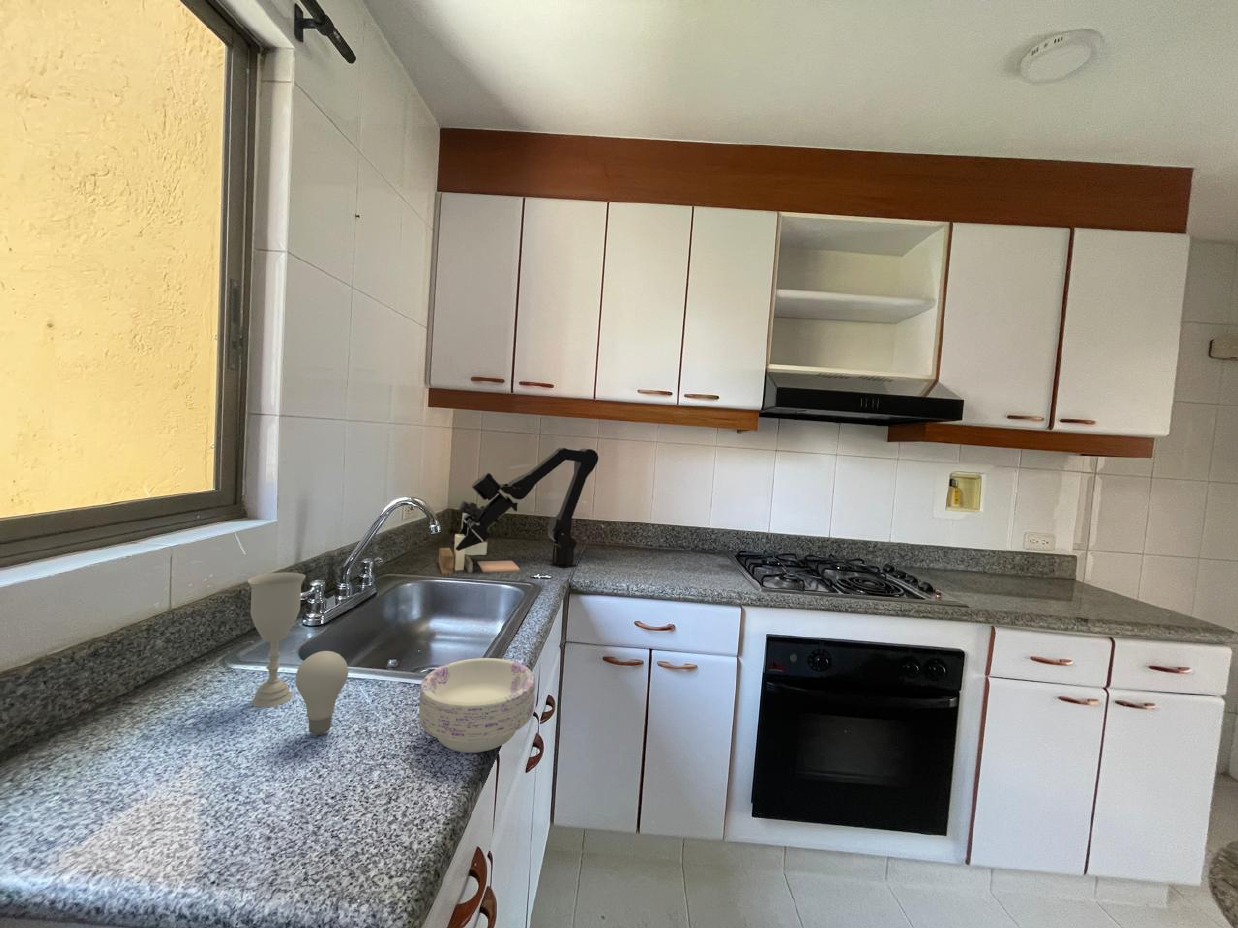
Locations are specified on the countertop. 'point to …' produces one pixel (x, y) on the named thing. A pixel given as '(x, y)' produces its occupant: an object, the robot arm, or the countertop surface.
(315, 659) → the lightbulb
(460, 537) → the cream rectangular block
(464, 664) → the paper bowls
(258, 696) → the chalice
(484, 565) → the terracotta pad
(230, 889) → the countertop surface
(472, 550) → the skincare box
